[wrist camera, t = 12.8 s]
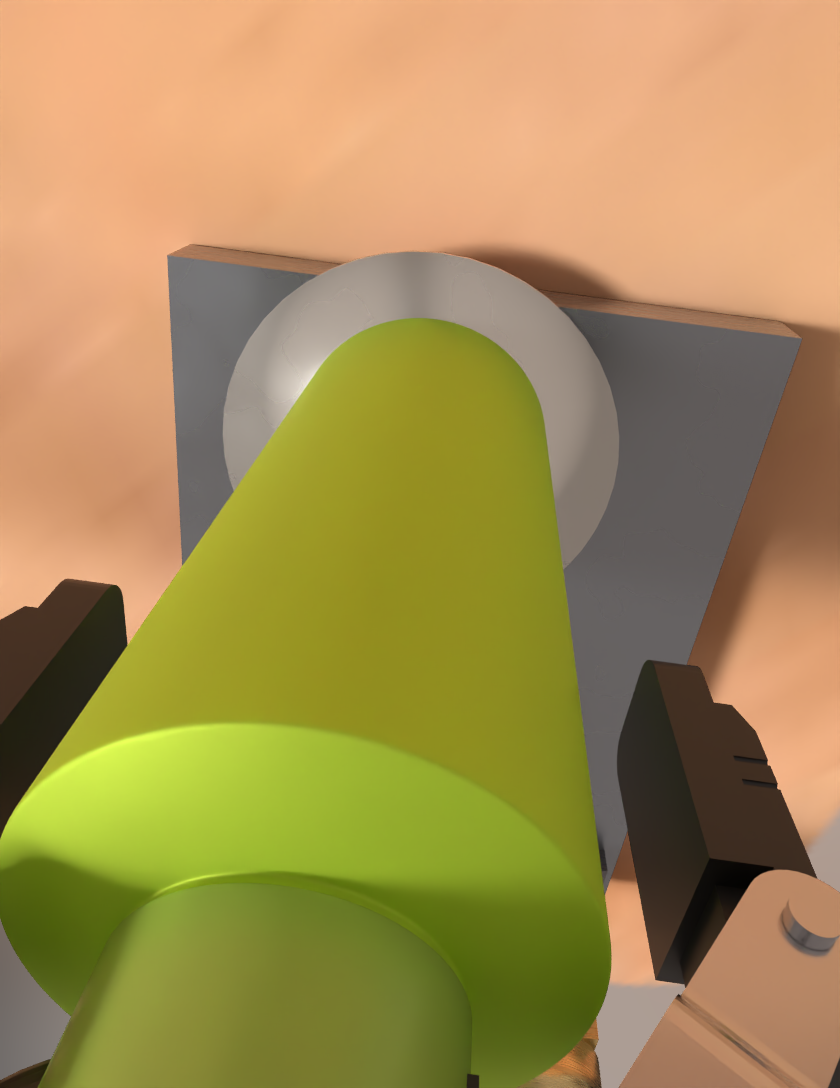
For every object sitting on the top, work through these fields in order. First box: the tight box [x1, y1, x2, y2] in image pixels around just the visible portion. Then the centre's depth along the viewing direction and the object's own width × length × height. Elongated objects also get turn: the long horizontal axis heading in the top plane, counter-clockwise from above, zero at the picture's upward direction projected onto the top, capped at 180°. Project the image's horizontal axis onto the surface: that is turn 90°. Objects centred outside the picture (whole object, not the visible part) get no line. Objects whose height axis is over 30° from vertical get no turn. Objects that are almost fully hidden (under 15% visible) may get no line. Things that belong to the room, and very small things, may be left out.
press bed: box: [167, 244, 802, 894], centre depth 22 cm, size 21×14×2 cm
